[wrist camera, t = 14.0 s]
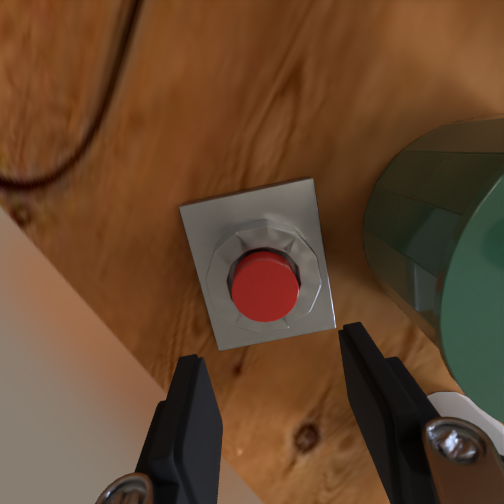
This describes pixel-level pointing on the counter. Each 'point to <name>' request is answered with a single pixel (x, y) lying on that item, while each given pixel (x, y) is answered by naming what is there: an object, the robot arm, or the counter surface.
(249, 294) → the button
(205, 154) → the counter surface
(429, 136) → the green pot
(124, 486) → the robot arm
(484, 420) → the foam cup
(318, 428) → the counter surface
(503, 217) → the pot lid
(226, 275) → the grey mounting plate
